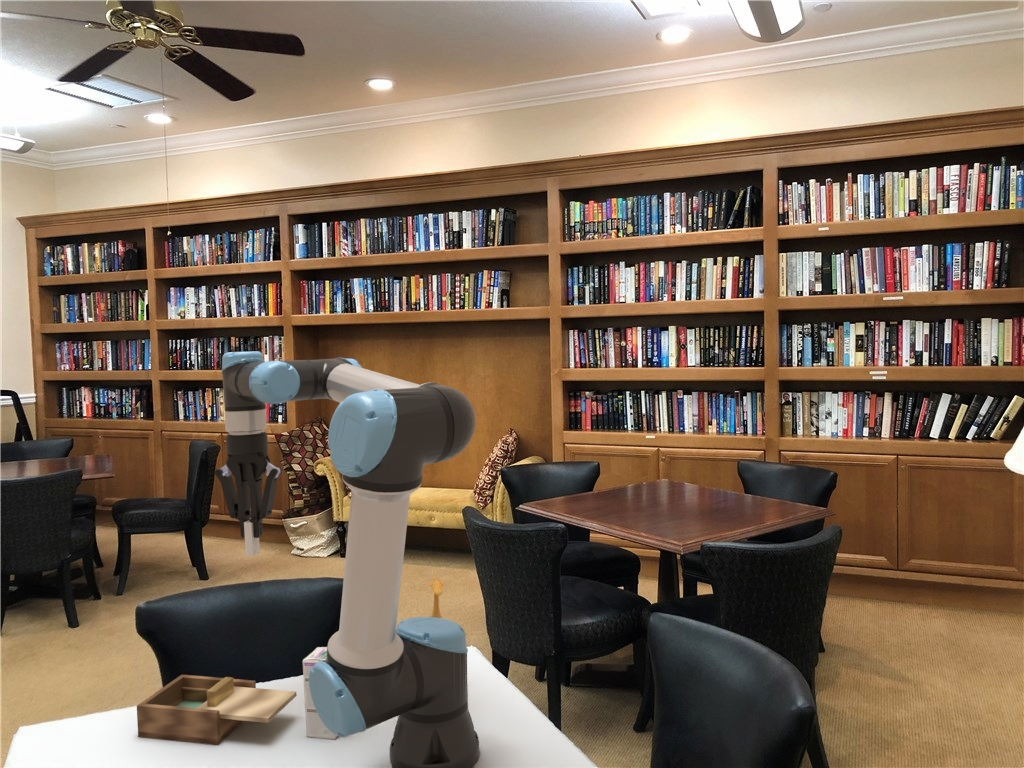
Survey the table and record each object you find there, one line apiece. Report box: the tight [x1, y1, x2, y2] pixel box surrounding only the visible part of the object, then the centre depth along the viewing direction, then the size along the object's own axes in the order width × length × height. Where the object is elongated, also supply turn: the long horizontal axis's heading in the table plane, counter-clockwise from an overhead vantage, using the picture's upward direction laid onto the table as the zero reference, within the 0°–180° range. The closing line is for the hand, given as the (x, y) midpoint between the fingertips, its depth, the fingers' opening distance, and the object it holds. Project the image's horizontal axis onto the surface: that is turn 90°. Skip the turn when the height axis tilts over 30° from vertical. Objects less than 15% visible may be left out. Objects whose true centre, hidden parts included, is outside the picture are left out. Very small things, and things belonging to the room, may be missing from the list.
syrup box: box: [302, 646, 338, 740], centre depth 141 cm, size 6×6×14 cm
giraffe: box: [428, 575, 445, 618], centre depth 155 cm, size 16×4×25 cm, turn 10°
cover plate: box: [198, 676, 297, 724], centre depth 143 cm, size 15×10×4 cm
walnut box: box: [136, 674, 257, 746], centre depth 145 cm, size 16×13×6 cm
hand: (252, 554), depth 150 cm, fingers closed
